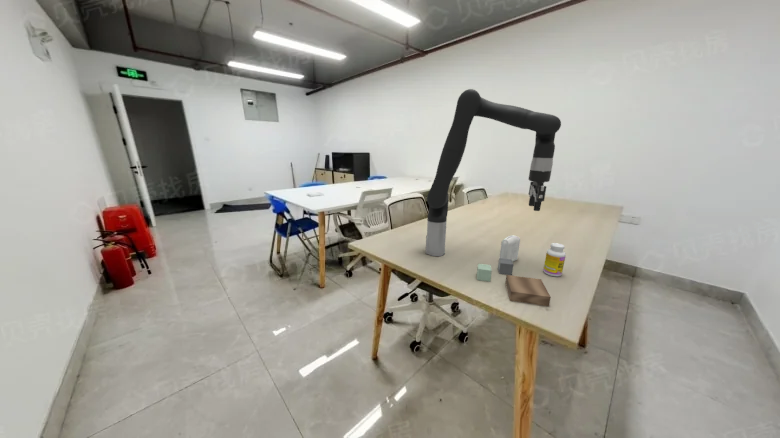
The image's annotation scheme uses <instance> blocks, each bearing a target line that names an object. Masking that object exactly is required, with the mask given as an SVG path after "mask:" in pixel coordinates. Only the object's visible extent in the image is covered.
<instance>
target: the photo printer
mask: <svg viewBox="0 0 780 438" xmlns="http://www.w3.org/2000/svg"><path fill="white" fill-rule="evenodd" d="M520 244H521V238H520V236H518V235H513V234H512V235H507V236H506V237H505V238H504V239H502V241H501V243H500V250H499V258H502V259H511V260H512V262H513V263H514V262H515V261H517V260H518V259H519V258H518V257H519V250H520Z"/></svg>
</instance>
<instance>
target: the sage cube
mask: <svg viewBox="0 0 780 438" xmlns="http://www.w3.org/2000/svg"><path fill="white" fill-rule="evenodd" d="M476 268H477V271H476V280H477V281H482V282H491V279H492V272H493V271H492V266H491V264H485V263H484V264H483V263H477V267H476Z"/></svg>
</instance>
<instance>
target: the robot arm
mask: <svg viewBox="0 0 780 438" xmlns="http://www.w3.org/2000/svg"><path fill="white" fill-rule="evenodd" d="M454 111H455V112H454V116H453V121H452V122H451V127H450V128H449V131H448V134H447V135H446V136H447V137H446V139H445V142H444V144H443V148H442V149H441V150H442V151H441V153H440V157H439V160H438V164H437V169H436V172H435V173H436V174H435V176H434V180H433V182H432V184H431V187H430V189H429V191H428V193H427V196H426V200H427V201H426V202H427V204H428V213H427V222H426V223H427V224H426V225H427V226H426V237H425V254H426V255H429V256H433V257H441V256H442V257H443V255H445V254H446V240H447V239H446V238H447V220H448V219H447V218H448V213H449V212H448V210H449V201H450V200H449V199H450V197H449V193H448V192H449V189H450V185H451V183H452V179H454V177H455V174H456V172H458V168H459V166H460V164H461V162H462V159H463V157H464V153H465V149H466V146H467V142H468V137H469V131H470V128H471V125H472V122H473V120H474V117H480V118H481V117H482V118H485V119H491V120H493V121H496V122H500V123H503V124H506V125H508V126H511V127H514V128H519V129H522V130H529V131H534V132H535V144H534V149H533V153H532V159H531V161H530V162H531V163H530V168H529V174H528V180H529V182H530V185H529V191H528V197H529V199H528V206H529V207H533V211H535V212H539V211H541V206H542V202H545V197H546V191H547V186H546V185H545V184H544V183H549V182H550V179H551V175H552V171H553V165H554V164H553V163H554V155H555V150H556V145H555V137H556V133H557V132H558V131H559V130H560V129H561V126H562V121H561V119H560V118H559V117H558V116H556V115H554V114H550V113H545V112H544V113H543V112H539V111H533V110H530V109H528V108H524V107H521V106H516V105H510V104H503V103H498V102H493V101H491V100H488V99H486V98H483V97H482V96H481V94H480V93H479V92H478V91H477V90H476V89H474V88H469V89H466V90H464V91H462V92H461V94H460V95H459V96H458V98H457V102H456V107H455V110H454Z"/></svg>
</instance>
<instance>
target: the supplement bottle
mask: <svg viewBox="0 0 780 438" xmlns="http://www.w3.org/2000/svg"><path fill="white" fill-rule="evenodd" d="M564 250H565V245H564V244H562V243H557V242H551V243H550V248H548V249H547V250H546V252H545V259H544V264H543V269H542V270H543V272H544V274H546V275H548V276H551V277H561V276H562V275H563V270H564V266H565V260H566V254H567V253H566V252H565V251H564Z"/></svg>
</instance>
